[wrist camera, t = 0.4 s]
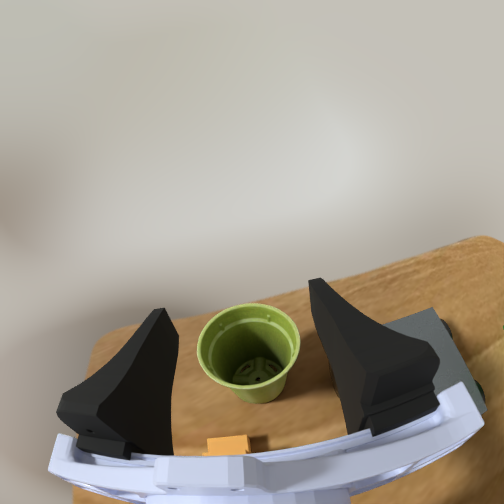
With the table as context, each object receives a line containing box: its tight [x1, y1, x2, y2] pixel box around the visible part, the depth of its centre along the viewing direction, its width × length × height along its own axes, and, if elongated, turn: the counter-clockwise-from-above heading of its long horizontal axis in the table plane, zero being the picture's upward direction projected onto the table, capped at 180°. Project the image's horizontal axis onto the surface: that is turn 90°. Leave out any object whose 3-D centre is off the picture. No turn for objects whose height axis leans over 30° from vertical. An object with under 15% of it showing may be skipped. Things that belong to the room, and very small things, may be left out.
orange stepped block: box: [202, 435, 252, 456], centre depth 19 cm, size 6×4×6 cm, turn 7°
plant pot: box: [197, 303, 300, 403], centre depth 26 cm, size 9×9×9 cm
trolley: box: [329, 307, 487, 415], centre depth 22 cm, size 14×14×6 cm
